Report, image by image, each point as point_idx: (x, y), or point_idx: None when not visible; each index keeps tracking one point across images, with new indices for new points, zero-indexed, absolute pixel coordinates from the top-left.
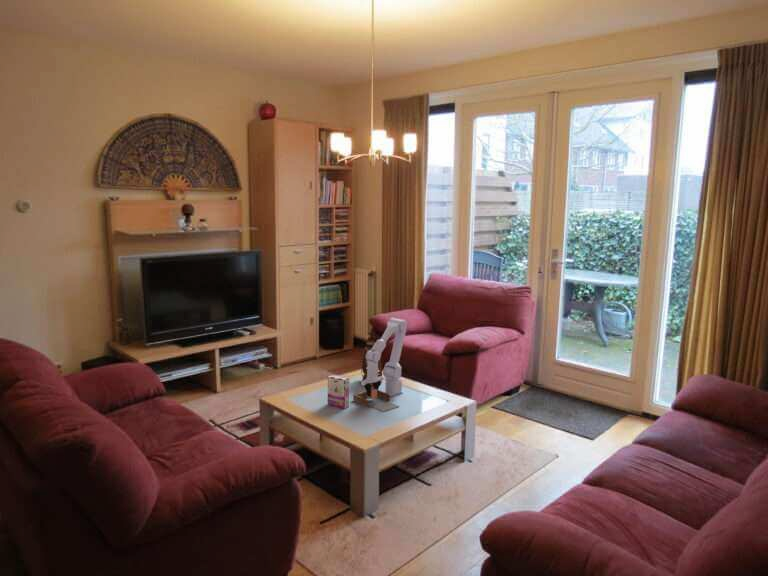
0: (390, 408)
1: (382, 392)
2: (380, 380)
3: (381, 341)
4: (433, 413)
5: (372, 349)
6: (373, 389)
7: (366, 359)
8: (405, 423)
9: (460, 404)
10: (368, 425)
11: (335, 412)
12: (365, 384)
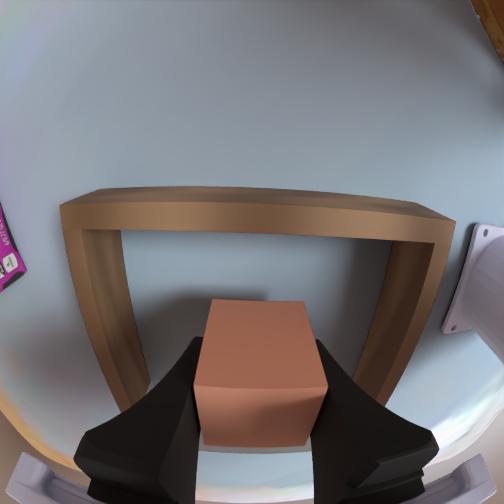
0: (246, 451)
1: (396, 362)
2: (432, 486)
3: None
4: None
5: None
6: (258, 438)
7: None
8: (197, 492)
9: (444, 457)
10: (70, 439)
11: None
12: (87, 493)
